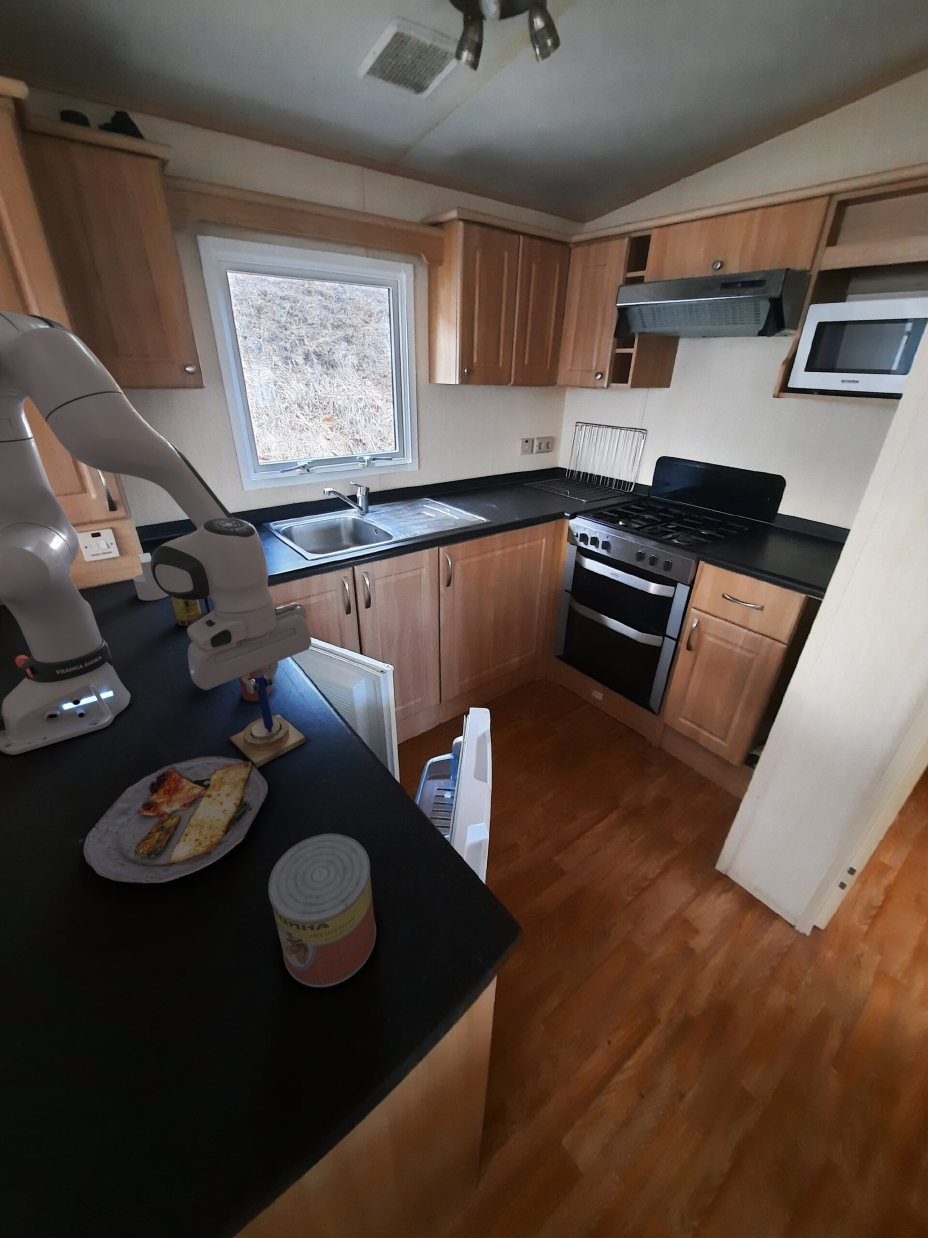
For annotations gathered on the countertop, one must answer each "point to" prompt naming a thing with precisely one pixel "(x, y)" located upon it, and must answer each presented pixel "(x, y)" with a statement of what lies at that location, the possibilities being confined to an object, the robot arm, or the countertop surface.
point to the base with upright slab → (147, 581)
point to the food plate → (176, 820)
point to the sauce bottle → (185, 610)
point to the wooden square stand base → (267, 742)
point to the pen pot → (260, 671)
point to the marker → (264, 702)
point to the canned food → (324, 909)
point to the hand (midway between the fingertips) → (261, 687)
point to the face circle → (265, 730)
